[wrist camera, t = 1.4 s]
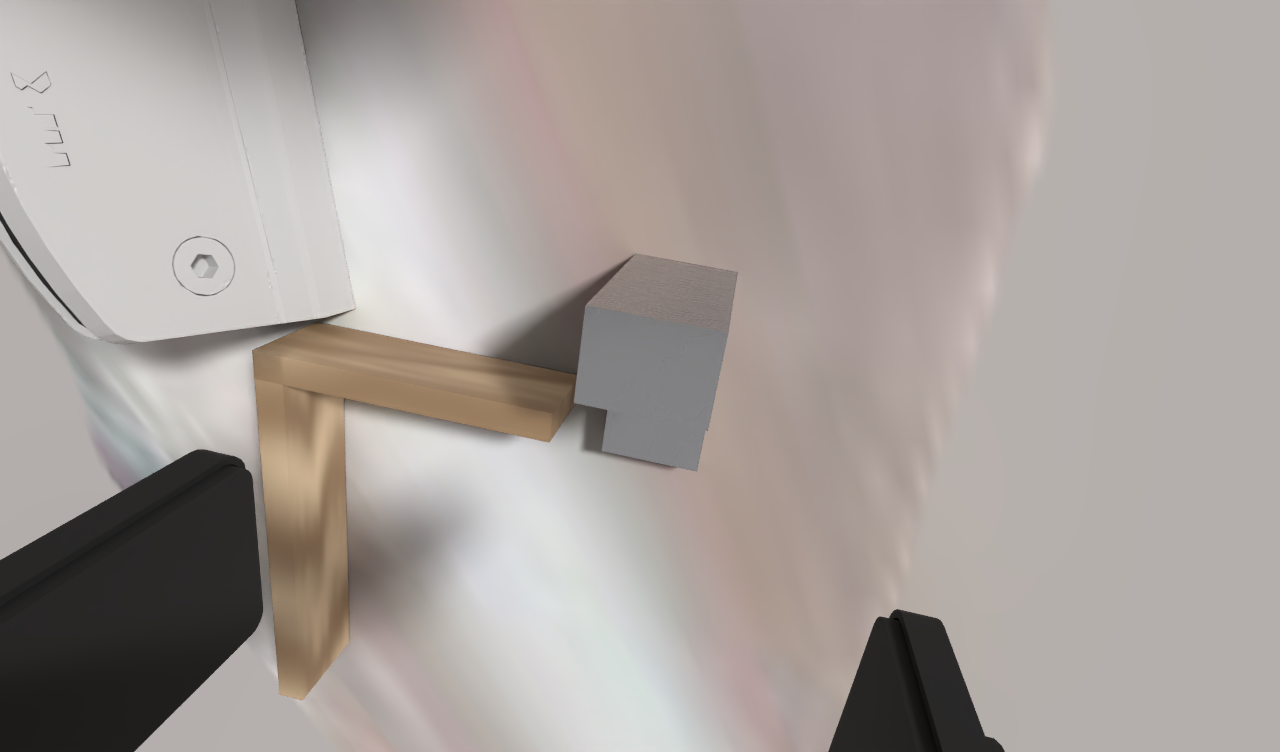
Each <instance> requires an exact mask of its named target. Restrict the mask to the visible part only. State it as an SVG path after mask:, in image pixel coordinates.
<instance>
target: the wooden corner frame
mask: <svg viewBox="0 0 1280 752" xmlns="http://www.w3.org/2000/svg"><path fill="white" fill-rule="evenodd" d="M252 354H253V366H254V379H255V391H256V404H257V416H258V429H259V441H260V454H261V467H262V479H263V492H264V504H265V517H266V529H267V542H268V554H269V567H270V579H271V592H272V605H273V617H274V630H275V642H276V655H277V667H278V680H279V692H280V695H284V696H287V697H291V698H295V699H298V700H303V699H304V698H305V697H306V695H307V694H308V693H309V692H310V690H311V689H312V688H313V687H314V685H315V684H316V683H317V682H318V680H319V679H320V678H321V677H322V675H323V674H324V673H325V672H326V670H327V669H328V668H329V666H330V665H331V664H332V663H333V661H334V660H335V659H336V658H337V656H338V655H339V654H340V653H341V651H342V650H343V649H344V648H345V646H346V645H347V644H348V643H349V641H350V633H349V592H348V551H347V511H346V470H345V429H344V398H346V399H350V400H355V401H359V402H364V403H369V404H373V405H378V406H383V407H387V408H392V409H397V410H401V411H406V412H410V413H415V414H420V415H424V416H429V417H434V418H438V419H443V420H447V421H452V422H457V423H461V424H466V425H471V426H475V427H480V428H485V429H489V430H494V431H498V432H503V433H508V434H512V435H517V436H522V437H526V438H531V439H536V440H540V441H545V442H550V441H551V439H552V438H553V436H554V435H555V433H556V432H557V430H558V429H559V427H560V426H561V424H562V423H563V421H564V420H565V418H566V417H567V415H568V414H569V412H570V411H571V409H572V408H573V406H574V404H575V403H574V396H575V388H576V379H577V375H575V374H570V373H565V372H560V371H555V370H551V369H546V368H541V367H536V366H531V365H526V364H521V363H516V362H511V361H506V360H502V359H497V358H492V357H487V356H482V355H477V354H472V353H467V352H462V351H457V350H453V349H448V348H443V347H438V346H433V345H428V344H423V343H418V342H413V341H408V340H404V339H399V338H394V337H389V336H384V335H379V334H374V333H369V332H364V331H359V330H355V329H350V328H345V327H340V326H335V325H330V324H325V323H320V322H315V323H313V324H311V325H308V326H306V327H304V328H301V329H299V330H297V331H295V332H292V333H290V334H288V335H286V336H283V337H281V338H279V339H277V340H274V341H272V342H270V343H268V344H265V345H263V346H261V347H259V348H256V349H254V350H252Z"/></svg>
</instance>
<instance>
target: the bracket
mask: <svg viewBox="0 0 1280 752" xmlns="http://www.w3.org/2000/svg"><path fill="white" fill-rule="evenodd" d="M737 273H738V272H733V271H728V270H722V269H717V268H712V267H706V266H701V265H695V264H690V263H684V262H679V261H673V260H668V259H662V258H657V257H651V256H646V255H641V254H635V255H634V256H633V257H632V258H631V259H630V260H629V261H628V262H627V263H626V264H625V265H624V266H623V267H622V268H621V269H620V270H619V271H618V272H617V273H616V274H615V275H614V276H613V277H612V278H611V280H610V281H609V282H608V283H607V284H606V285H605V286H604V287H603V288H602V289H601V290H600V291H599V292H598V293H597V294H596V295H595V296H594V297H593V298H592V299H591V300H590V301H589V302H588V303H587V304H586V305H585V313H584V321H583V329H582V338H581V346H580V354H579V363H578V371H577V379H576V388H575V396H574V403H576V404H581V405H586V406H591V407H596V408H600V409H605V410H607V416H606V423H605V430H604V437H603V444H602V451H604V452H609V453H613V454H618V455H623V456H627V457H632V458H636V459H641V460H646V461H650V462H655V463H660V464H664V465H669V466H674V467H678V468H683V469H687V470H692V471H697V468H698V464H699V459H700V454H701V449H702V444H703V439H704V435H705V430H706V431H708V428H709V423H710V418H711V414H712V409H713V404H714V399H715V394H716V390H717V385H718V380H719V375H720V370H721V366H722V361H723V356H724V351H725V346H726V342H727V337H728V332H729V325H730V319H731V312H732V306H733V299H734V293H735V286H736V280H737Z"/></svg>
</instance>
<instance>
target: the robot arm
mask: <svg viewBox="0 0 1280 752" xmlns="http://www.w3.org/2000/svg"><path fill="white" fill-rule="evenodd" d="M262 613H263V602H262V589H261V577H260V565H259V552H258V540H257V528H256V515H255V503H254V491H253V479H252V475H251V473H250V472H249V471H248V470H246V469H245V464H244V463H243V461H242V460H241V459H239V458H237V457H235V456H230V455H226V454H222V453H217V452H213V451H208V450H195V451H193V452H190V453H188V454H187V455H185V456H183V457H181V458H180V459H178V460H176V461H174V462H173V463H171V464H169V465H167V466H166V467H164V468H162V469H160V470H158V471H157V472H155V473H153V474H151V475H150V476H148V477H146V478H144V479H143V480H141V481H139V482H137V483H136V484H134V485H132V486H130V487H129V488H127V489H125V490H123V491H121V492H120V493H118V494H116V495H115V496H113V497H111V498H109V499H107V500H106V501H104V502H102V503H100V504H99V505H97V506H95V507H93V508H91V509H90V510H88V511H86V512H85V513H83V514H81V515H79V516H77V517H76V518H74V519H72V520H70V521H69V522H67V523H65V524H63V525H62V526H60V527H58V528H56V529H55V530H53V531H51V532H49V533H47V534H46V535H44V536H42V537H40V538H39V539H37V540H35V541H33V542H32V543H30V544H28V545H26V546H25V547H23V548H21V549H19V550H17V551H16V552H14V553H12V554H10V555H9V556H7V557H5V558H3V559H2V560H0V752H134V751H135V750H136V749H137V748H138V747H139V746H140V745H141V744H142V743H143V742H144V741H145V740H146V739H147V738H148V737H149V736H150V735H151V734H152V733H153V732H154V731H155V730H156V729H157V728H158V727H159V726H160V725H161V724H162V723H163V722H164V721H165V720H166V719H167V718H168V717H169V716H170V715H171V714H172V713H173V712H174V711H175V710H176V709H177V708H178V707H179V706H181V704H182V703H183V702H184V701H186V700H187V698H189V697H190V696H191V695H192V694H193V693H194V692H195V691H196V689H198V688H199V687H200V686H201V684H203V683H204V682H205V681H206V680H207V679H208V678H209V677H210V676H211V675H212V674H213V673H214V672H215V671H216V670H217V669H218V668H219V667H220V666H221V665H222V664H223V663H224V662H225V661H226V660H227V659H228V658H229V657H230V656H231V655H232V654H233V653H234V652H235V651H236V650H237V649H238V648H239V647H240V646H241V645H242V644H243V643H244V642H245V641H246V640H247V639H248V638H249V637H250V636H251V635H252V634H253V632H254V631H255V630H256V628H257V626H258V625H259V623H260V620H261V617H262ZM828 752H1004V749H1003V748H1002V746H1001V745H1000V744H999V743H998V742H997V741H996V740H995V739H994V738H990V737H985V735H984V732H983V730H982V727H981V724H980V721H979V719H978V716H977V714H976V711H975V708H974V705H973V703H972V700H971V697H970V695H969V692H968V689H967V686H966V684H965V681H964V679H963V676H962V673H961V670H960V668H959V665H958V662H957V660H956V657H955V654H954V652H953V649H952V646H951V644H950V641H949V638H948V636H947V633H946V630H945V627H944V625H943V623H942V622H941V621H940V620H939V619H937V618H933V617H928V616H924V615H920V614H916V613H911V612H907V611H903V610H898V609H897V610H894V611H893V612H892V613H891V615H890V617H889V618H885V617H878V618H877V619H876V621H875V623H874V626H873V628H872V631H871V634H870V637H869V640H868V642H867V645H866V648H865V651H864V654H863V656H862V659H861V662H860V665H859V668H858V670H857V673H856V676H855V679H854V682H853V684H852V687H851V690H850V693H849V696H848V698H847V701H846V704H845V707H844V709H843V712H842V715H841V718H840V721H839V723H838V726H837V729H836V732H835V735H834V737H833V740H832V743H831V746H830V749H829V751H828Z"/></svg>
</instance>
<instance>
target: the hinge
mask: <svg viewBox="0 0 1280 752" xmlns="http://www.w3.org/2000/svg"><path fill="white" fill-rule="evenodd" d="M0 244H1V245H2V247H3V248H4V250H5V251H6V252H7V254H8V255H9V257H10V258H11V260H12V261H13V262H14V264H15V265H16V266H17V267H18V269H19V270H20V271H21V272H22V273H23V275H24V276H25V277H26V278H27V280H28V281H29V282H30V283H31V285H32V286H33V287H34V288H35V290H36V291H37V292H38V293H39V294H40V295H41V296H42V298H43V299H44V300H45V301H46V302H47V303H48V304H49V305H50V306H51V307H52V308H53V309H54V310H55V312H56V313H57V314H58V315H59V316H60V317H61V318H62V319H63V320H64V321H65V322H66V323H67V324H68V325H69V326H71V327H72V328H73V329H74V330H75V331H77V332H79V333H80V334H82V335H84V336H87V337H89V338H93V339H99V340H106V341H108V342H110V343H117V344H131V343H140V342H148V341H156V340H164V339H172V338H180V337H187V336H194V335H202V334H209V333H216V332H224V331H231V330H238V329H246V328H253V327H260V326H268V325H275V324H282V323H290V322H297V321H304V320H311V319H319V318H326V317H329V316H333V315H336V314H339V313H343V312H346V311H350V310H353V309H356V308H355V303H354V298H353V293H352V287H351V282H350V277H349V272H348V267H347V262H346V257H345V252H344V247H343V242H342V237H341V232H340V227H339V222H338V216H337V211H336V206H335V201H334V196H333V191H332V186H331V181H330V176H329V171H328V166H327V161H326V156H325V151H324V145H323V140H322V135H321V130H320V125H319V120H318V115H317V110H316V105H315V100H314V95H313V90H312V85H311V80H310V75H309V69H308V64H307V59H306V54H305V49H304V44H303V39H302V34H301V29H300V24H299V19H298V14H297V9H296V4H295V0H0Z"/></svg>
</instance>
